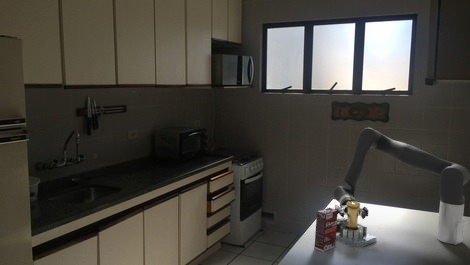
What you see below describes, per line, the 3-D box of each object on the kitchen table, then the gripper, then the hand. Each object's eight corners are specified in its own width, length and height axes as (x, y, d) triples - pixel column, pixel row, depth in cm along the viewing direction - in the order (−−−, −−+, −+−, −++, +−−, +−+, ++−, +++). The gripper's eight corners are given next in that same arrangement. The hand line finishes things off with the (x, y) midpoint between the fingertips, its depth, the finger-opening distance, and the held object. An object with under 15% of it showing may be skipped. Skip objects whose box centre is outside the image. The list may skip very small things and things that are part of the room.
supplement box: (323, 252, 162) (325, 214, 160) (313, 248, 165) (315, 211, 163) (336, 247, 167) (338, 210, 165) (326, 243, 171) (328, 207, 169)
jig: (376, 241, 174) (376, 230, 173) (357, 248, 166) (358, 237, 166) (345, 230, 187) (346, 219, 186) (327, 236, 179) (327, 225, 178)
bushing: (360, 235, 176) (363, 203, 174) (352, 237, 172) (354, 205, 171) (350, 231, 180) (352, 200, 178) (342, 233, 177) (344, 202, 175)
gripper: (333, 195, 190) (336, 206, 174) (364, 197, 188) (371, 208, 172) (332, 211, 191) (335, 223, 175) (363, 213, 189) (370, 225, 173)
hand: (353, 216), depth 173 cm, fingers open, 8 cm apart
